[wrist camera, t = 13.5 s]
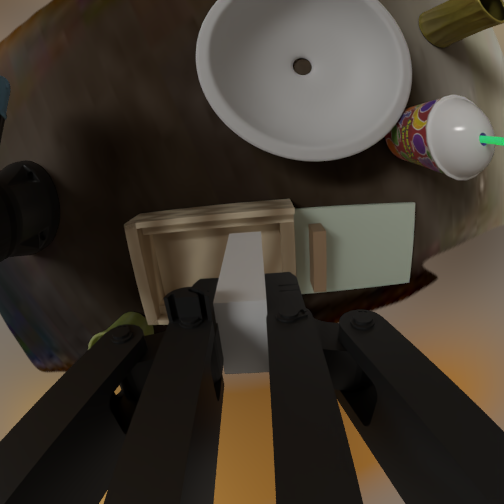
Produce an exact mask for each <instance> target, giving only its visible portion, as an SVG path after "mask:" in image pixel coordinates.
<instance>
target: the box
mask: <svg viewBox="0 0 504 504" xmlns="http://www.w3.org/2000/svg"><path fill="white" fill-rule="evenodd" d="M294 214H295V208H294V206H293V204H292V202H291V200H290V199H279V200H266V201H253V202H242V203H231V204H220V205H210V206H200V207H191V208H182V209H173V210H164V211H156V212H148V213H140V214H139V215H137V216H136V217H134V218H133V219H131V220H130V221H128V222H127V223H125V224H124V229H125V234H126V239H127V243H128V248H129V253H130V257H131V261H132V266H133V270H134V274H135V278H136V282H137V286H138V290H139V294H140V298H141V302H142V305H143V309H144V312H145V316H146V320H147V323H148V325H168V324H169V320H168V316H167V312H166V307H165V303H164V299H163V298H164V297H165V296H166V295H167V294H168V293H170V292H171V291H173V290H176V289H179V288H183V287H192V286H193V284H194V283H196V282H197V281H198V280H199V279H205V278H219V275H220V271H221V267H222V262H223V258H224V254H225V250H226V245H227V241H228V237H229V234H232V233H245V232H259V231H261V239H262V251H263V263H264V274H266V273H280V272H291V273H292V274H293V275H295V276H296V252H295V231H294ZM296 277H297V276H296Z"/></svg>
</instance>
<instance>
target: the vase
mask: <svg viewBox="0 0 504 504" xmlns="http://www.w3.org/2000/svg"><path fill="white" fill-rule="evenodd" d="M502 23H504V2H503V1H502V0H449V1H447V2H445V3H443V4H440V5H438V6H436V7H434V8H432V9H430V10H428V11H426V12H424V13H422V14H421V15H420V17H419V27H420V30H421V32H422V33H423V35H424V36H425V38H426V39H427V40H428V41H429V42H431V43H432V44H433V45H435V46H438V47H442V48H444V47H448V46H449V45H451V44H452V43H454V42H457V41H460V40H462V39H464V38H466V37H468V36H470V35H473V34H475V33H478V32H480V31H482V30H485V29H487V28H490V27H493V26H496V25H499V24H502Z"/></svg>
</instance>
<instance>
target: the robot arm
mask: <svg viewBox="0 0 504 504" xmlns="http://www.w3.org/2000/svg"><path fill="white" fill-rule="evenodd" d="M9 95H10V84H9V82H8V80H7V79H6V78H4V77H3V76H0V143H1V137H2V132H3V127H4V122H5V120H6V118H7V115H6V110H7V105H8V100H9ZM58 224H59V201H58V196H57V192H56V189H55V186H54V184H53V182H52V180H51V178H50V176H49V175H48V174H47V172H46V171H45V170H44V169H43V168H42V167H41V166H39V165H38V164H36V163H34V162H31V161H20V162H15V163H12V164H10V165H8V166H6V167H5V168H3V169H2V170H1V171H0V262H1V261H3V260H4V259H6V258H8V257H14V256H25V255H32V254H35V253H37V252H39V251H40V250H42V249H44V248H45V247H47V246H48V245H49V244H50V243H51V241H52V240H53V238H54V236H55V234H56V232H57V228H58ZM163 299H164V303H165V307H166V312H167V316H168V320H169V324H168V326H167V329H166V331H163V332H160V333H156V334H151V335H146V336H144V333H143V330H142V329H141V328H140V327H139V326H137V325H134V324H123V325H119V326H117V327H114V328H112V329H110V330H109V331H108V332H106V333H105V334H104V335H103V336H102V337H101V338H100V339H99V340H98V341H97V342H96V343H95V344H94V345H93V346H92V347H91V348H90V349H89V350H88V351H87V352H86V353H85V354H84V355H83V356H82V357H81V358H80V359H79V360H78V361H77V362H76V363H75V364H74V365H73V366H72V367H71V368H70V369H69V370H68V371H67V372H66V373H65V374H64V375H63V376H62V377H61V378H60V379H59V380H58V381H57V382H56V383H55V384H54V385H53V386H52V387H51V388H50V389H49V390H48V391H47V392H46V393H45V394H44V395H43V396H42V397H41V398H40V400H38V402H37V403H36V404H35V405H34V406H33V407H32V408H31V409H30V410H29V411H28V412H27V413H26V414H25V415H24V416H23V418H21V420H20V421H19V422H18V423H17V424H16V425H15V426H14V427H13V428H12V429H11V431H9V433H8V434H7V435H6V436H5V437H4V438H3V439H2V440H1V441H0V504H99V502H100V501H101V499H102V498H103V496H104V494H105V493H106V491H107V490H108V491H107V494H106V498H105V501H104V504H213V501H214V489H215V477H216V467H217V456H218V445H219V434H220V423H221V413H222V403H223V392H224V381H223V376H222V370H223V366H224V371H225V374H236V373H237V374H238V373H259V372H269V374H270V392H271V409H272V427H273V446H274V466H275V485H276V486H275V487H276V504H363V501H362V497H361V493H360V488H359V484H358V480H357V476H356V471H355V467H354V463H353V459H352V456H351V452H350V447H349V444H348V440H347V436H346V432H345V428H344V424H343V420H342V417H341V413H340V409H339V406H338V402H337V399H338V401H339V403H340V404H341V406H342V407H343V409H344V410H345V412H346V414H347V415H348V417H349V418H350V420H351V421H352V423H353V424H354V426H355V427H356V429H357V431H358V432H359V434H360V435H361V437H362V438H363V440H364V441H365V443H366V444H367V446H368V447H369V449H370V450H371V452H372V454H373V455H374V457H375V458H376V460H377V461H378V463H379V464H380V466H381V467H382V469H383V470H384V472H385V473H386V475H387V476H388V478H389V479H390V481H391V482H392V484H393V486H394V487H395V488H396V490H397V492H398V493H399V495H400V496H401V498H402V499H403V501H404V502H405V504H504V432H503V430H502V429H501V428H500V427H499V426H498V425H497V424H496V423H495V422H494V421H493V420H492V419H491V418H490V417H489V416H488V415H487V414H485V412H484V411H483V410H482V409H481V408H479V406H477V405H476V404H475V403H474V402H473V401H472V400H471V399H470V398H469V397H468V396H467V395H466V394H465V393H464V392H463V391H462V390H461V389H460V388H459V387H458V386H457V385H456V384H455V383H454V382H453V381H452V380H451V379H449V378H448V377H447V376H446V375H445V374H444V373H443V372H442V371H441V370H440V369H439V368H438V367H437V366H436V365H435V364H434V363H432V362H431V361H430V360H429V359H428V358H427V357H426V356H425V355H424V354H423V353H422V352H421V351H419V350H418V349H417V348H416V347H415V346H414V345H413V344H412V343H411V342H410V341H409V340H407V339H406V338H405V337H404V336H403V335H402V334H401V333H400V332H399V331H397V330H396V329H395V328H394V327H393V326H392V325H391V324H390V323H389V322H388V321H386V320H385V319H384V318H383V317H382V316H380V315H379V314H377V313H375V312H372V311H369V310H353V311H349V312H347V313H345V314H343V315H342V316H341V317H340V321H339V323H329V322H323V321H319V320H316V319H315V318H313V316H312V313H311V312H310V310H309V309H307V308H306V307H305V304H304V301H303V297H302V294H301V290H300V287H299V284H298V280H297V277H296V276H295V275H293V274H292V273H291V272H280V273H266V274H264V263H263V251H262V239H261V231H259V232H245V233H232V234H229V237H228V241H227V245H226V250H225V254H224V258H223V262H222V267H221V271H220V275H219V278H205V279H199V280H198V281H197V282H196V283H194V284H193V286H192V287H183V288H179V289H176V290H173V291H171V292H170V293H168V294H167V295H166V296H165V297H164V298H163ZM119 385H120V387H121V389H122V390H121V391H120V392H119V393H118V394H117V395H116V394H115V393H114V391H115V390H116V388H117V387H118V386H119Z"/></svg>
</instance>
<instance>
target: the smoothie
mask: <svg viewBox="0 0 504 504" xmlns="http://www.w3.org/2000/svg"><path fill="white" fill-rule="evenodd" d="M385 140H386V143H387V146H388V148H389V149H390V150H391V152H392V153H393V154H394V155H395V156H397V157H398V158H399V159H402V160H405V161H408V162H411V163H414V164H417V165H420V166H423V167H426V168H429V169H431V170H434V171H437V172H439V173H442V174H445V175H447V176H449V177H451V178H453V179H455V180H469V179H471V178H473V177H476V176H477V175H478V174H479V173H480V172H481V171H483V170H484V169H485V168H486V167H487V166H488V165H489V163H490V162H491V160H492V157H493V155H494V151H495V145H503V146H504V138H503V137H495V134H494V130H493V127H492V125H491V123H490V121H489V119H488V117H487V116H486V115H485V114H484V113H483V111H482V110H481V109H480V108H479V107H477V106H476V105H475V104H474V103H473V102H472V101H470V100H469V99H467V98H465V97H464V96H459V95H454V94H453V95H449V96H445V97H442V98H440V99H437V100H433V101H429V102H426V103H423V104H419V105H416V106H413V107H409V108H406V109H405V110H404V112H403V114H402V116H401V117H400V119H399V120H398V122H397V123H396V125H395V126H394V127H393V128H392V129H391V131H390V132H389V133H388V134H387V135H386V136H385Z"/></svg>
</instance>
